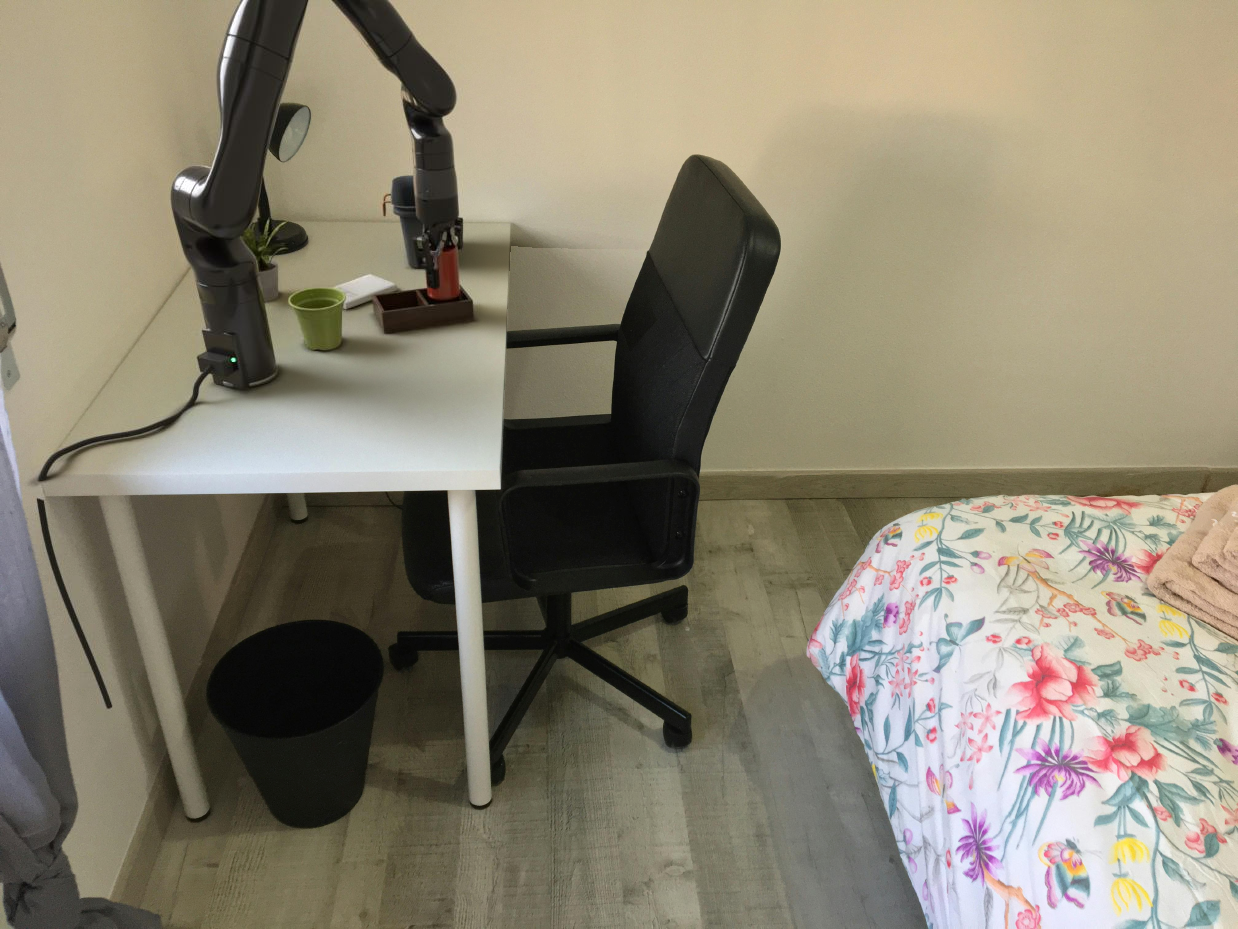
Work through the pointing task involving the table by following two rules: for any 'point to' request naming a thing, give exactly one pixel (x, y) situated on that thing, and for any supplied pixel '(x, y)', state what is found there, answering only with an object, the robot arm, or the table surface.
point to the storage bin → (405, 213)
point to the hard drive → (364, 289)
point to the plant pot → (319, 316)
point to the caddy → (420, 310)
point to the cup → (446, 275)
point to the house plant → (265, 261)
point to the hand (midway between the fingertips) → (442, 281)
